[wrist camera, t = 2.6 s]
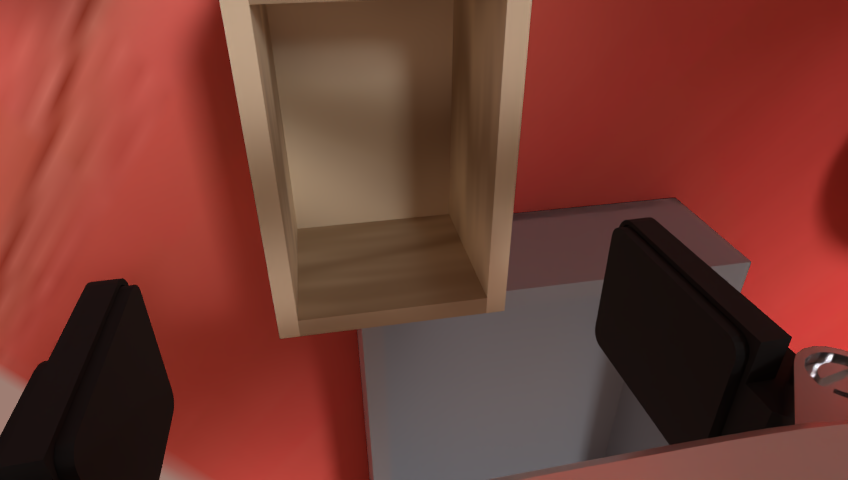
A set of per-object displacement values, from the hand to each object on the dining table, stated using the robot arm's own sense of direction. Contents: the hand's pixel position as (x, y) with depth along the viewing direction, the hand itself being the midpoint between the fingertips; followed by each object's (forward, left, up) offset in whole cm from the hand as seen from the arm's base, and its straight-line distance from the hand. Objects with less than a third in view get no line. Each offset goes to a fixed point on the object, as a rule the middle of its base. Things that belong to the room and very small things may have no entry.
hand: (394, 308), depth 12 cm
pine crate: (-1, +1, -11) cm, 11 cm away
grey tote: (+13, +7, -11) cm, 18 cm away
